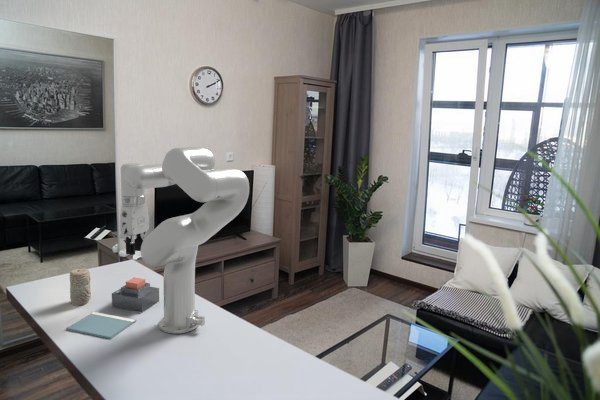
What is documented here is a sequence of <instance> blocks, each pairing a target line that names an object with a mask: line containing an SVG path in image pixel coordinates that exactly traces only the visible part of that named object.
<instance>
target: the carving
mask: <svg viewBox="0 0 600 400" xmlns="http://www.w3.org/2000/svg"><path fill="white" fill-rule="evenodd" d="M90 272H91V271H90V270H89V269H88V268H86V267H85V268H76V269H72V270H71V271H70V272H69V282H70V284H69V286H70V287H69V295H70V296H69V298H70V299H69V300H70V302H71V304H72V305H73V306H76V307H77V306H84V305H86V304H87V303H89V302H90V301H91V299H92V296H91V295H92V292H91V273H90Z"/></svg>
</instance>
